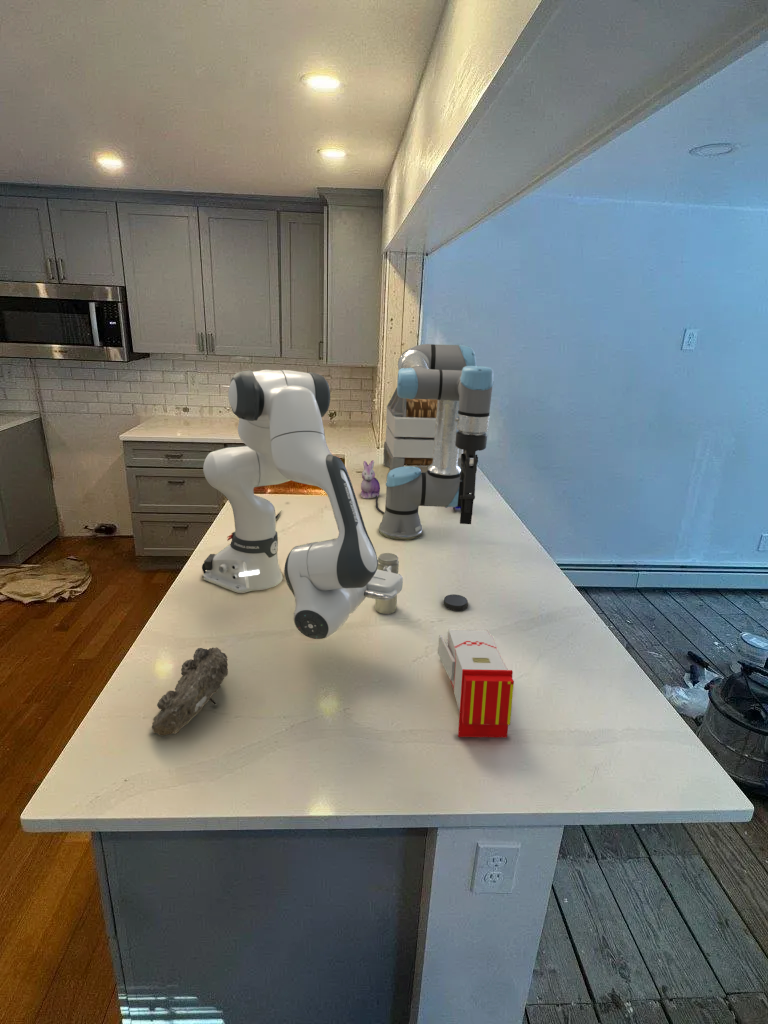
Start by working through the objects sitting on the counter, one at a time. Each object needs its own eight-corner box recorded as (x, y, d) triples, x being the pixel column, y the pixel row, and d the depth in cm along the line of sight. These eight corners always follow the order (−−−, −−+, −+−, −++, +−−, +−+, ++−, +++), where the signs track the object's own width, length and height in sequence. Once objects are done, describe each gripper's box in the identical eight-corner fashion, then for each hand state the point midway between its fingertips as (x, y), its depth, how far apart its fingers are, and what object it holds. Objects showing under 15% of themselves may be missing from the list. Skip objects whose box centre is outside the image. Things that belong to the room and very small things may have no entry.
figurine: (365, 500, 232) (366, 464, 227) (354, 493, 241) (355, 458, 236) (385, 497, 237) (387, 463, 231) (374, 490, 245) (375, 457, 240)
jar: (391, 615, 146) (393, 563, 141) (371, 610, 149) (373, 558, 143) (399, 606, 151) (402, 555, 146) (380, 601, 153) (382, 550, 148)
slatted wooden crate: (382, 463, 289) (386, 382, 275) (445, 464, 293) (451, 384, 279) (390, 482, 257) (394, 392, 243) (460, 483, 261) (468, 394, 247)
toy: (488, 613, 130) (523, 677, 101) (484, 667, 133) (517, 744, 104) (435, 612, 130) (455, 676, 101) (432, 666, 133) (451, 743, 103)
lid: (470, 602, 155) (471, 597, 154) (463, 613, 149) (463, 608, 149) (447, 597, 157) (448, 592, 157) (440, 607, 152) (440, 602, 151)
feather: (288, 505, 226) (290, 501, 226) (271, 529, 199) (273, 524, 199) (284, 503, 226) (287, 499, 225) (266, 526, 199) (269, 522, 199)
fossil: (179, 649, 121) (229, 617, 116) (211, 678, 124) (260, 649, 119) (128, 729, 101) (185, 695, 96) (167, 762, 104) (224, 731, 99)
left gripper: (392, 586, 116) (412, 560, 128) (303, 567, 122) (330, 544, 135) (390, 613, 118) (411, 585, 130) (303, 593, 125) (330, 568, 137)
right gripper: (454, 421, 149) (448, 497, 157) (458, 442, 126) (450, 530, 133) (483, 423, 149) (475, 499, 156) (492, 444, 126) (482, 533, 133)
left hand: (369, 564), depth 133 cm, fingers open, 8 cm apart
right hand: (463, 514), depth 145 cm, fingers open, 13 cm apart
